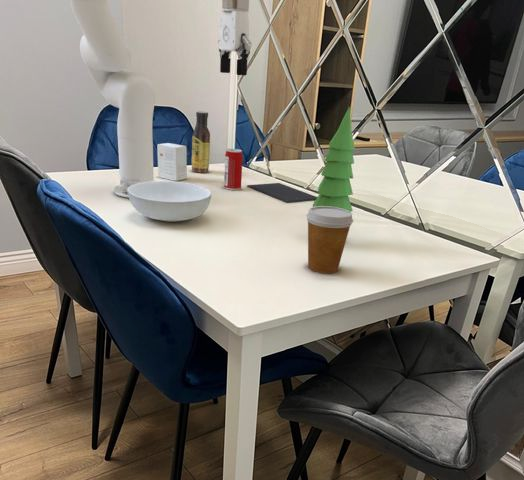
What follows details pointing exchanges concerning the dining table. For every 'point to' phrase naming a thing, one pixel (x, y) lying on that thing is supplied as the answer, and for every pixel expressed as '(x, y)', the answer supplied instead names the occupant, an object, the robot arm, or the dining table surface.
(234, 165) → the soda can
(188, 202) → the serving bowl
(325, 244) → the disposable coffee cup
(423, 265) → the dining table surface
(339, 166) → the decorative tree
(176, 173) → the small box
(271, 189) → the placemat
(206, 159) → the sauce bottle
